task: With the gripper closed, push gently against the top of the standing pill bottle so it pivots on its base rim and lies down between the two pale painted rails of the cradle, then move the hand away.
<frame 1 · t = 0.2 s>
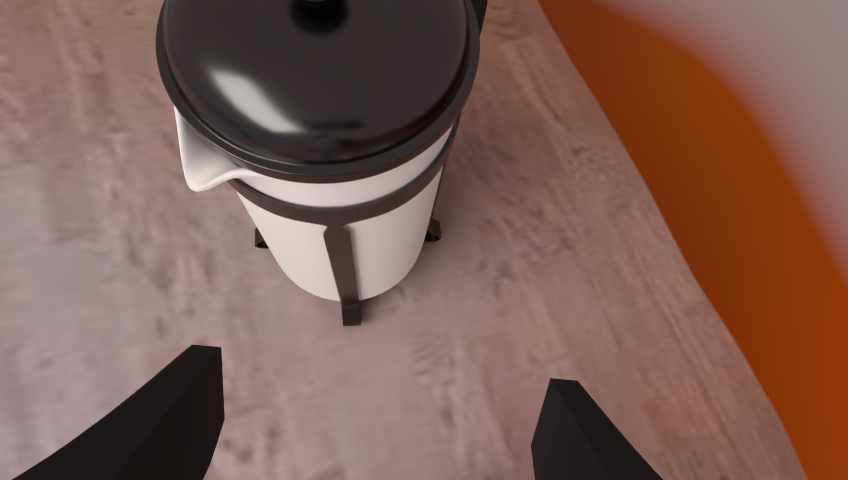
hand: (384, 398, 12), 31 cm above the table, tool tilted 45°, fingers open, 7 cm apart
coffee press: (357, 224, 46), on the table
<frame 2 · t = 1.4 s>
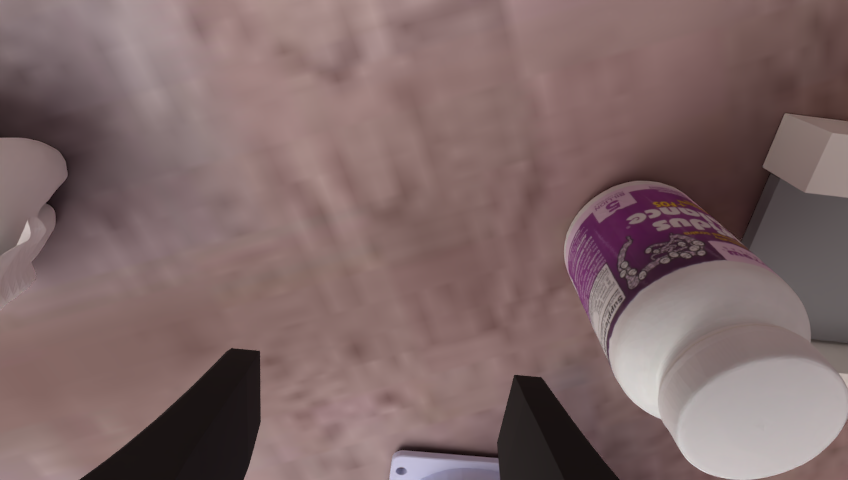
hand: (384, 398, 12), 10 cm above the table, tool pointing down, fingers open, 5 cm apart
cradle: (846, 264, 22), on the table
pill bottle: (626, 237, 22), on the table
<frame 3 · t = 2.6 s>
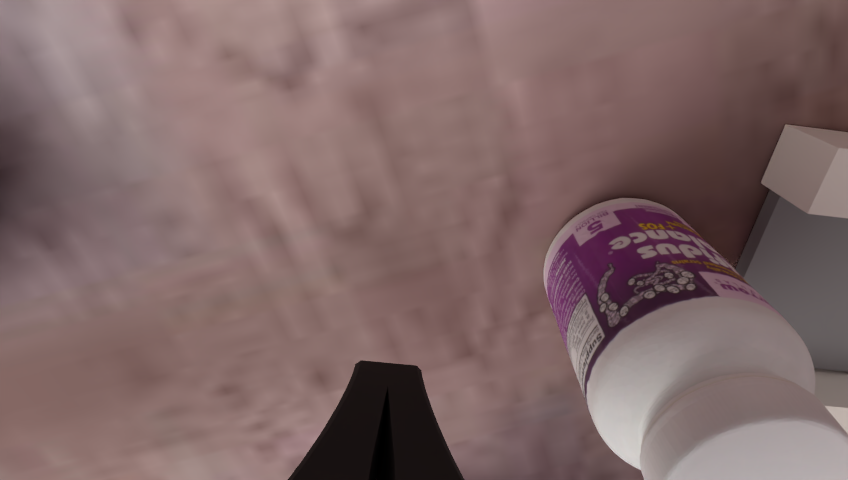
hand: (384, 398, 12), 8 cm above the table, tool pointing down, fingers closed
pill bottle: (612, 258, 20), on the table
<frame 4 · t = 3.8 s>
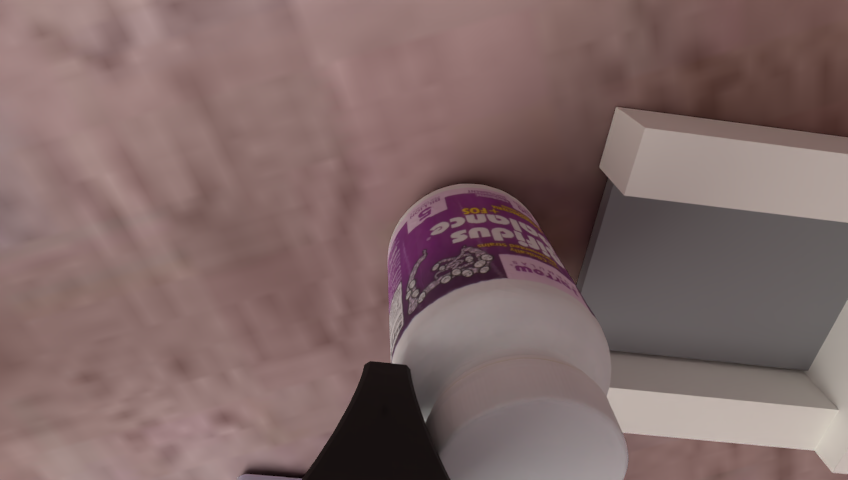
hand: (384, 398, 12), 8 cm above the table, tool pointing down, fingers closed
cradle: (706, 275, 20), on the table
pill bottle: (461, 246, 20), on the table, touching gripper
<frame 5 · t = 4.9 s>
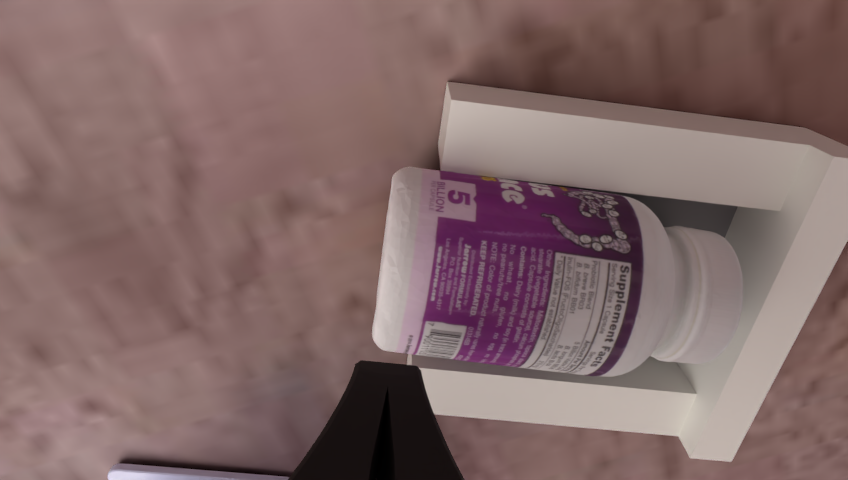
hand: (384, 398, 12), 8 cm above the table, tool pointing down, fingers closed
cradle: (564, 256, 20), on the table
pill bottle: (374, 254, 16), point 3 cm above the table, touching cradle
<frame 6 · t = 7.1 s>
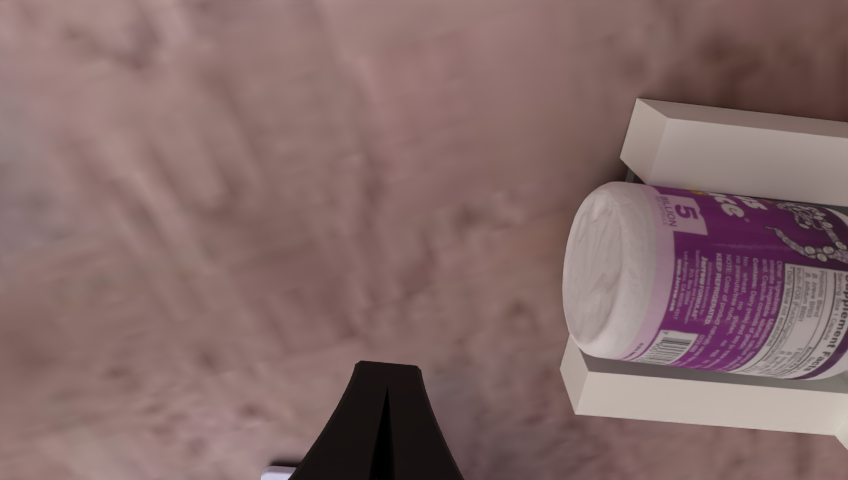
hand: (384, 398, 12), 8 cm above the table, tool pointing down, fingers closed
cradle: (726, 263, 20), on the table
pill bottle: (581, 265, 17), point 3 cm above the table, touching cradle
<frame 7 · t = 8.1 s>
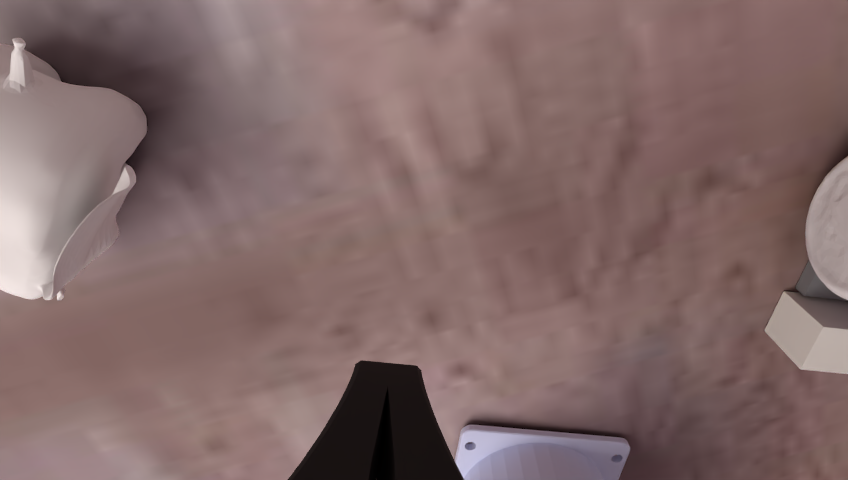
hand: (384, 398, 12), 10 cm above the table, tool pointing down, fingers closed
elephant figurine: (72, 149, 20), on the table
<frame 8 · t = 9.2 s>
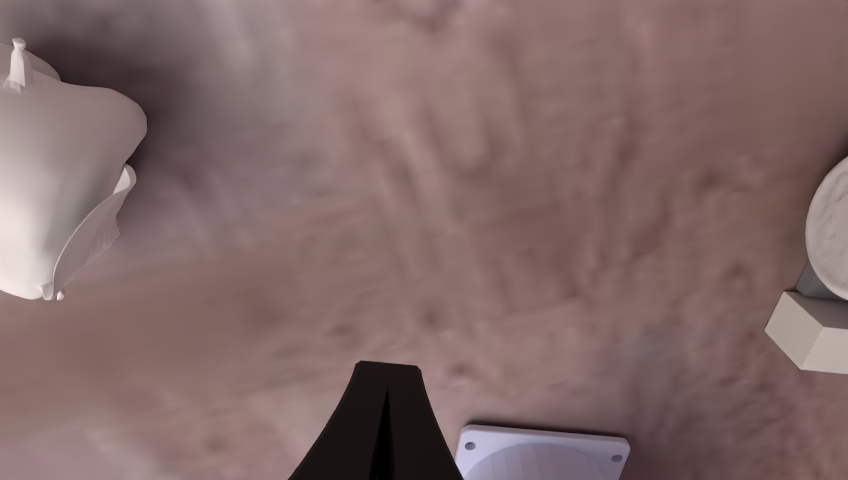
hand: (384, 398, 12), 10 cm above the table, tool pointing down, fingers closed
elephant figurine: (72, 149, 20), on the table
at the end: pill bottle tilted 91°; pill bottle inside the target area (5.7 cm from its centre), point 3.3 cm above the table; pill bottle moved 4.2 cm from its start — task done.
